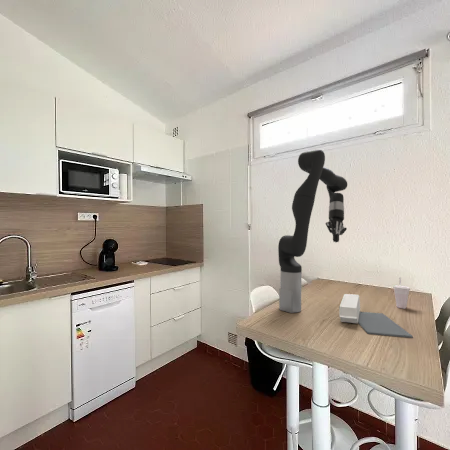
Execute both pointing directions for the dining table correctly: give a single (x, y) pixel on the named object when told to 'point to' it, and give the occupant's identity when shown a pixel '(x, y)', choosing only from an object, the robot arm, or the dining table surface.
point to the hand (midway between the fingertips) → (336, 241)
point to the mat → (380, 325)
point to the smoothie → (401, 295)
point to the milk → (349, 308)
